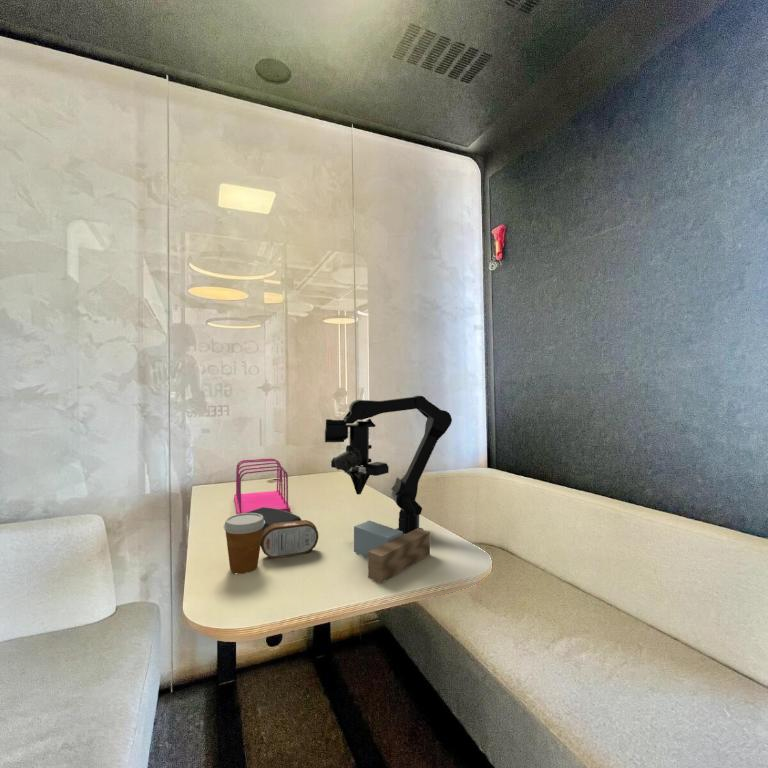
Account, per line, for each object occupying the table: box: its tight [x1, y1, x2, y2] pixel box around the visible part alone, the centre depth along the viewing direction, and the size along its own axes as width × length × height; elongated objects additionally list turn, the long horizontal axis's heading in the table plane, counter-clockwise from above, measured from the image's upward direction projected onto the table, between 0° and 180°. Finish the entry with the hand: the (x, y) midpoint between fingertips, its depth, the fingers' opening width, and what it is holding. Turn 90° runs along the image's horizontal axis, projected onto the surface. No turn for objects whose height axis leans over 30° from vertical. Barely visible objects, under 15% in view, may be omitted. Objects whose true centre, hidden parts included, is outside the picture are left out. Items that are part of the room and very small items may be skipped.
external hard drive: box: [247, 507, 302, 532], centre depth 125 cm, size 13×19×4 cm
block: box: [353, 520, 404, 559], centre depth 104 cm, size 6×12×7 cm, turn 48°
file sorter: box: [233, 457, 291, 514], centre depth 146 cm, size 17×25×16 cm
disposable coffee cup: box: [222, 513, 265, 575], centre depth 96 cm, size 10×10×12 cm
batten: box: [367, 527, 431, 584], centre depth 98 cm, size 20×4×6 cm, turn 140°
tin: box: [260, 519, 319, 559], centre depth 104 cm, size 15×3×8 cm, turn 113°
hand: (358, 494), depth 118 cm, fingers closed
